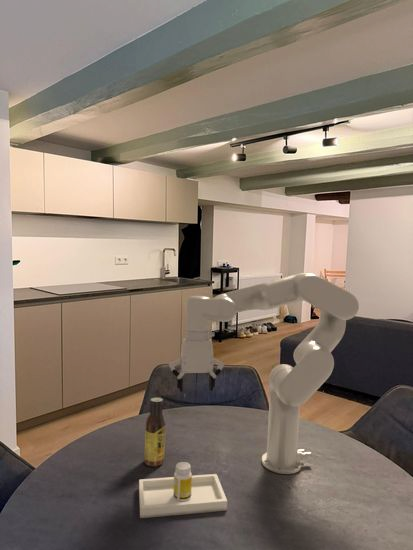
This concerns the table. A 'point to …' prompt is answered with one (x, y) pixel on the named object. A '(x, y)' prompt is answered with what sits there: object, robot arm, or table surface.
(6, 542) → the table surface
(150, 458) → the sauce bottle
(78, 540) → the table surface
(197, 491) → the tray
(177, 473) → the supplement bottle
